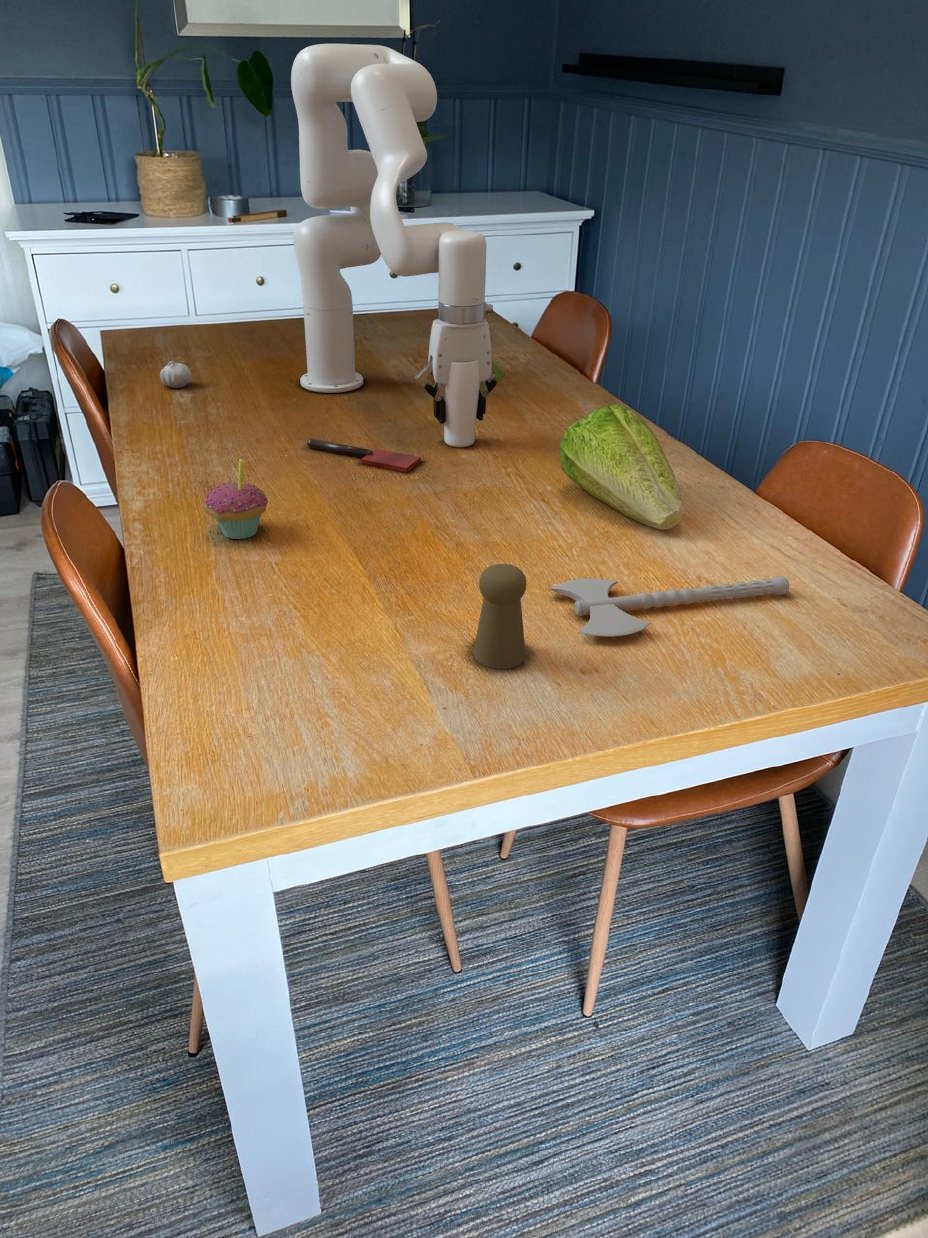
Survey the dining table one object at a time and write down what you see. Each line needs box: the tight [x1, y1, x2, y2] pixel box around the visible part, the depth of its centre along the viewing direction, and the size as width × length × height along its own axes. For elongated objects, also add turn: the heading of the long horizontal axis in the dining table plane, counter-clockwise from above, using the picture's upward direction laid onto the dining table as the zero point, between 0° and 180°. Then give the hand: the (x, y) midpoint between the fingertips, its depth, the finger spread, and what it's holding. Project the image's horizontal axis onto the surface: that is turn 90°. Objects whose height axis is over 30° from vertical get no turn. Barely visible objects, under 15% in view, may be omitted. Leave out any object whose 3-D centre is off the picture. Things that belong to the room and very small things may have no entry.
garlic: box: [159, 360, 192, 389], centre depth 188 cm, size 6×5×5 cm
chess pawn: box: [472, 563, 527, 670], centre depth 107 cm, size 6×6×11 cm
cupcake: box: [203, 454, 269, 540], centre depth 132 cm, size 9×8×12 cm
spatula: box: [306, 438, 422, 474], centre depth 160 cm, size 20×5×2 cm, turn 66°
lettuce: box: [559, 403, 684, 531], centre depth 142 cm, size 14×23×14 cm
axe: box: [549, 575, 790, 637], centre depth 119 cm, size 30×14×2 cm, turn 104°
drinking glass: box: [443, 361, 480, 448], centre depth 163 cm, size 7×7×15 cm
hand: (459, 418), depth 164 cm, fingers closed on drinking glass, 6 cm apart
